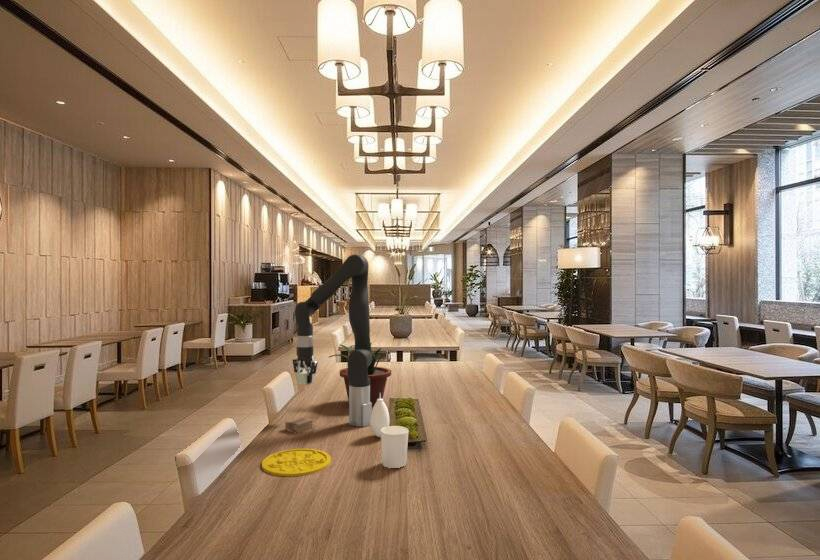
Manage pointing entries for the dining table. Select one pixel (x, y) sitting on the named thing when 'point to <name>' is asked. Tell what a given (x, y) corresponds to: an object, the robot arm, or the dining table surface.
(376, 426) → the sauce bottle
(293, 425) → the tan square block
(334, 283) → the robot arm
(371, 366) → the potted plant
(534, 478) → the dining table surface
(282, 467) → the decorative medallion
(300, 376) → the sage wooden cube
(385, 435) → the candle holder
